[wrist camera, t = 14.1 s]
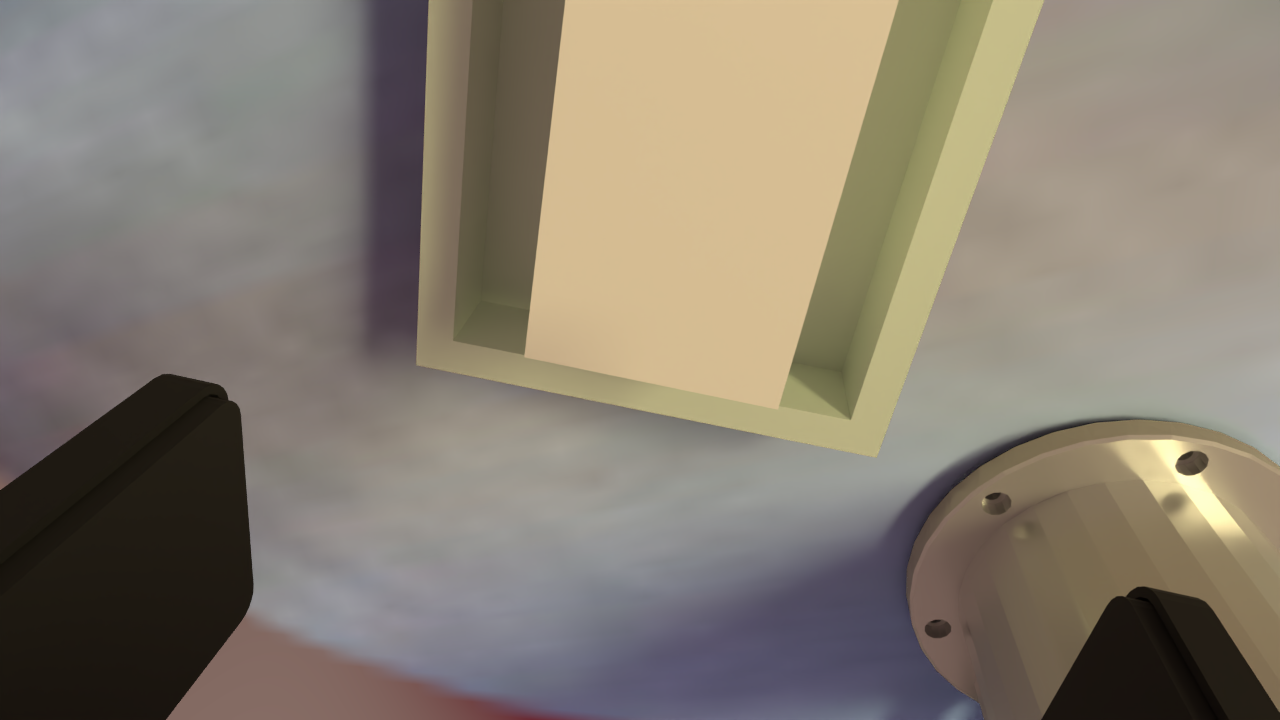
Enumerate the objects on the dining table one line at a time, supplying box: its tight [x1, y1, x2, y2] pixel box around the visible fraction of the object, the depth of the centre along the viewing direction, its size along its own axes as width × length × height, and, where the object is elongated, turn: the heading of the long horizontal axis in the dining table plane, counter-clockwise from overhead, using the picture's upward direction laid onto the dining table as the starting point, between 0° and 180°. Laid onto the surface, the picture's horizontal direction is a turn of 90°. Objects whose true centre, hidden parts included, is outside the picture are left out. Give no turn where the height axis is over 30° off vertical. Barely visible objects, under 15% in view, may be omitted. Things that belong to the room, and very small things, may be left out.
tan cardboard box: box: [524, 0, 899, 410], centre depth 18 cm, size 15×6×7 cm, turn 170°
